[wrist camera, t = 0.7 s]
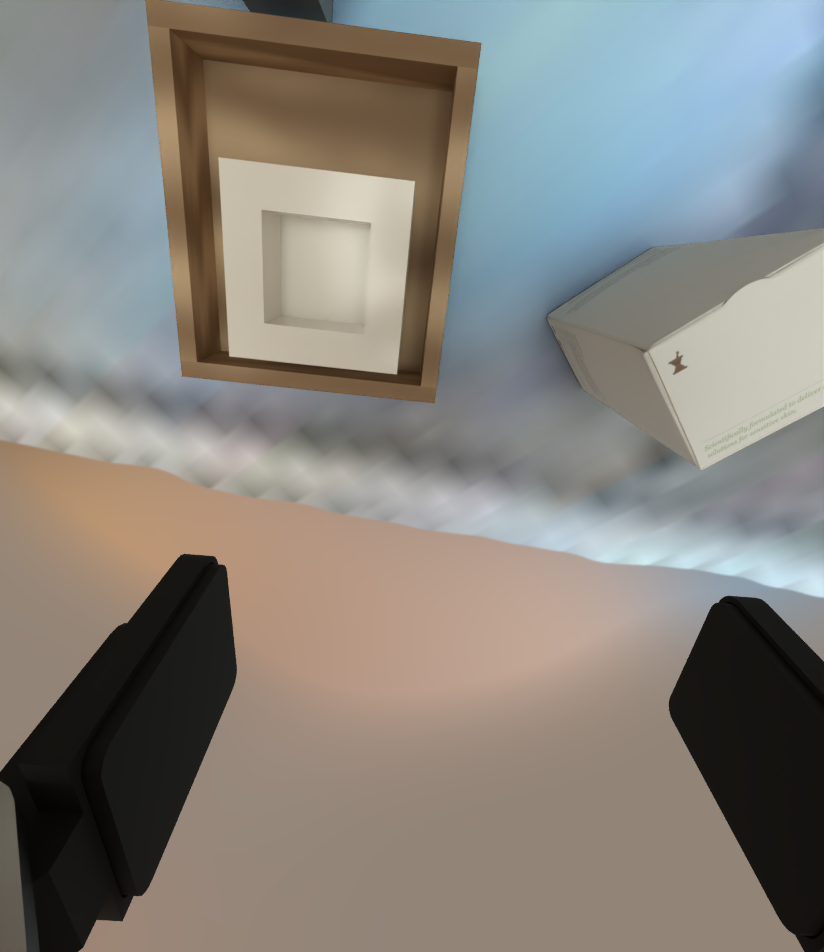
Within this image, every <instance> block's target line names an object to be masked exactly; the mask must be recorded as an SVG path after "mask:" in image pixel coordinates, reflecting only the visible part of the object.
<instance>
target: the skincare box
mask: <svg viewBox="0 0 824 952" xmlns="http://www.w3.org/2000/svg"><path fill="white" fill-rule="evenodd" d="M547 320H548V322H549V324H550V326H551V328H552V331H553V333H554V335H555V337H556V339H557V341H558V343H559V345H560V347H561V348H562V350H563V352H564V354H565V356H566V358H567V360H568V362H569V364H570V366H571V368H572V370H573V372H574V374H575V376H576V378H577V379H578V381H579V383H580V385H581V387H582V389H583V390H584V391H586V392H587V393H589V394H590V395H592V396H593V397H594V398H596V399H598V400H599V401H601V402H602V403H603V404H605V405H606V406H608V407H609V408H611V409H612V410H614V411H615V412H616V413H618V414H619V415H621V416H622V417H624V418H625V419H627V420H628V421H630V422H631V423H633V424H634V425H636V426H637V427H639V428H640V429H642V430H643V431H645V432H646V433H647V434H649V435H650V436H652V437H653V438H655V439H656V440H658V441H659V442H660V443H662V444H664V445H665V446H667V447H668V448H669V449H671V450H672V451H674V452H676V453H677V454H679V455H680V456H681V457H683V458H684V459H685V460H687V461H689V462H690V463H692V464H693V465H694V466H696V467H697V468H699V469H700V470H703V469H705V468H707V467H709V466H711V465H712V464H714V463H716V462H718V461H720V460H722V459H723V458H725V457H727V456H729V455H731V454H733V453H735V452H737V451H739V450H741V449H743V448H744V447H746V446H748V445H750V444H752V443H754V442H756V441H758V440H760V439H762V438H764V437H765V436H767V435H769V434H771V433H773V432H775V431H777V430H779V429H781V428H783V427H785V426H787V425H789V424H791V423H793V422H795V421H796V420H798V419H800V418H802V417H804V416H806V415H808V414H810V413H812V412H814V411H816V410H818V409H820V408H822V407H824V228H823V229H814V230H805V231H796V232H787V233H778V234H769V235H761V236H752V237H743V238H734V239H725V240H716V241H707V242H698V243H690V244H680V245H671V246H661V247H653V248H651V249H650V250H648V251H646V252H645V253H643V254H641V255H640V256H638V257H637V258H635V259H633V260H632V261H630V262H629V263H627V264H626V265H624V266H622V267H621V268H619V269H618V270H616V271H614V272H613V273H611V274H610V275H608V276H607V277H605V278H603V279H602V280H600V281H599V282H597V283H596V284H594V285H592V286H591V287H589V288H588V289H586V290H585V291H583V292H582V293H580V294H578V295H577V296H575V297H574V298H572V299H571V300H569V301H568V302H566V303H565V304H563V305H561V306H560V307H559V308H557V309H556V310H554V311H553V312H551V313H550V314H548V315H547Z"/></svg>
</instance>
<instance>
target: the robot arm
mask: <svg viewBox="0 0 824 952" xmlns="http://www.w3.org/2000/svg"><path fill="white" fill-rule="evenodd" d="M235 656H236V655H235V647H234V637H233V626H232V617H231V607H230V599H229V588H228V578H227V570H226V567H225V566H224V565H218V562H217V559H216V558H215V557H214V556H204V555H191V554H183V555H181V556H180V557H179V558H178V559H177V560H176V561H175V563H174V564H173V565H172V566H171V568H170V569H169V570H168V572H167V573H166V574H165V575H164V577H163V578H162V579H161V581H160V582H159V583H158V585H157V586H156V587H155V588H154V590H153V591H152V592H151V593H150V595H149V596H148V597H147V599H146V600H145V601H144V602H143V604H142V605H141V606H140V608H139V609H138V610H137V612H136V613H135V614H134V615H133V617H132V618H131V619H130V620H129V622H128V623H124V624H122V625H120V626H118V627H117V628H116V629H115V630H114V631H113V632H112V633H111V634H110V635H109V637H108V638H107V639H106V640H105V642H104V643H103V644H102V645H101V647H100V648H99V649H98V650H97V652H96V653H95V654H94V655H93V657H92V658H91V659H90V661H89V662H88V663H87V664H86V665H85V667H84V668H83V669H82V670H81V672H80V673H79V674H78V675H77V677H76V678H75V679H74V680H73V682H72V683H71V684H70V685H69V687H68V688H67V689H66V690H65V692H64V693H63V694H62V695H61V697H60V698H59V699H58V700H57V702H56V703H55V704H54V705H53V707H52V708H51V709H50V710H49V712H48V713H47V714H46V715H45V717H44V718H43V719H42V720H41V722H40V723H39V724H38V725H37V727H36V728H35V729H34V730H33V732H32V733H31V734H30V735H29V737H28V738H27V739H26V740H25V742H24V743H23V744H22V745H21V747H20V748H19V749H18V750H17V752H16V753H15V754H14V755H13V757H12V758H11V759H10V760H9V762H8V763H7V764H6V765H5V767H4V768H3V769H2V770H1V772H0V952H78V951H79V950H81V949H82V948H83V947H84V945H85V942H86V940H87V938H88V936H89V934H90V932H91V930H92V928H93V926H94V924H95V922H96V920H110V921H123V919H124V916H125V914H126V912H127V910H128V907H129V905H130V903H131V900H132V898H133V896H142V895H143V894H144V893H145V892H146V890H147V888H148V887H149V885H150V883H151V881H152V879H153V876H154V874H155V871H156V869H157V867H158V864H159V862H160V860H161V857H162V855H163V853H164V850H165V848H166V846H167V843H168V841H169V838H170V836H171V834H172V831H173V829H174V826H175V824H176V822H177V820H178V817H179V815H180V812H181V810H182V808H183V805H184V803H185V801H186V798H187V796H188V794H189V791H190V789H191V786H192V784H193V782H194V779H195V777H196V775H197V772H198V770H199V767H200V765H201V763H202V760H203V758H204V756H205V753H206V751H207V749H208V746H209V744H210V741H211V739H212V736H213V734H214V732H215V730H216V727H217V725H218V722H219V720H220V718H221V715H222V713H223V711H224V708H225V706H226V704H227V701H228V699H229V696H230V694H231V692H232V689H233V687H234V683H235V679H236V673H237V665H236V657H235ZM669 711H670V715H671V718H672V720H673V722H674V723H675V726H676V727H677V729H678V731H679V733H680V735H681V737H682V739H683V740H684V742H685V744H686V746H687V748H688V750H689V752H690V754H691V755H692V757H693V759H694V761H695V763H696V765H697V766H698V768H699V770H700V772H701V774H702V776H703V778H704V779H705V781H706V783H707V785H708V787H709V789H710V791H711V792H712V794H713V796H714V798H715V800H716V802H717V804H718V805H719V807H720V809H721V811H722V813H723V815H724V817H725V819H726V821H727V822H728V824H729V826H730V828H731V830H732V832H733V833H734V835H735V837H736V839H737V841H738V843H739V845H740V846H741V848H742V850H743V852H744V854H745V856H746V858H747V860H748V861H749V863H750V865H751V867H752V869H753V871H754V873H755V875H756V876H757V878H758V880H759V882H760V884H761V886H762V887H763V889H764V891H765V893H766V895H767V897H768V899H769V901H770V902H771V904H772V906H773V908H774V910H775V912H776V914H777V915H778V917H779V919H780V920H781V922H782V924H783V925H784V926H785V927H786V928H787V929H788V930H789V931H790V932H792V933H793V934H795V935H796V937H797V939H798V941H799V943H800V944H801V946H802V948H803V950H804V952H824V661H823V660H822V659H821V658H820V657H819V656H818V655H817V654H816V653H815V652H814V651H813V650H812V649H811V648H810V647H809V646H808V645H807V644H806V643H805V642H804V641H803V640H802V639H801V638H800V637H799V636H798V635H797V634H796V633H795V632H794V631H793V630H792V629H791V628H790V627H789V626H788V625H787V624H786V623H785V622H784V621H783V620H782V618H781V617H779V615H778V614H777V613H776V612H774V610H773V609H772V608H771V607H770V606H769V605H768V604H767V603H766V602H764V601H763V600H761V599H758V598H750V597H737V596H725V597H724V598H722V599H721V600H720V601H719V603H715V604H714V605H713V606H712V607H711V609H710V611H709V613H708V615H707V618H706V620H705V622H704V624H703V626H702V629H701V631H700V633H699V635H698V637H697V640H696V642H695V644H694V646H693V648H692V651H691V653H690V655H689V657H688V659H687V662H686V664H685V666H684V668H683V670H682V673H681V675H680V677H679V679H678V681H677V683H676V686H675V688H674V690H673V692H672V694H671V697H670V700H669Z"/></svg>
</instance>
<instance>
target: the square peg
mask: <svg viewBox="0 0 824 952" xmlns="http://www.w3.org/2000/svg"><path fill="white" fill-rule="evenodd" d="M243 1H244V3H245V4H246V6H247V7H248V9H249V10H250V12H253V13H260V14H268V15H275V16H283V17H290V18H298V19H305V20H313V21H320V22H328V23H332V13H333V0H243Z"/></svg>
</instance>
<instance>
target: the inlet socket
mask: <svg viewBox="0 0 824 952" xmlns="http://www.w3.org/2000/svg"><path fill="white" fill-rule="evenodd" d="M218 160H219V178H220V197H221V215H222V233H223V252H224V270H225V288H226V307H227V325H228V343H229V356H231V357H240V358H249V359H259V360H268V361H277V362H286V363H295V364H305V365H314V366H323V367H332V368H342V369H351V370H360V371H369V372H379V373H388V374H397V371H398V365H399V359H400V353H401V347H402V337H403V326H404V316H405V305H406V294H407V284H408V273H409V263H410V252H411V242H412V231H413V221H414V210H415V200H416V199H415V181H408V180H400V179H392V178H384V177H375V176H367V175H359V174H351V173H343V172H335V171H327V170H318V169H310V168H302V167H294V166H286V165H278V164H270V163H261V162H253V161H245V160H237V159H229V158H221V157H218Z"/></svg>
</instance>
